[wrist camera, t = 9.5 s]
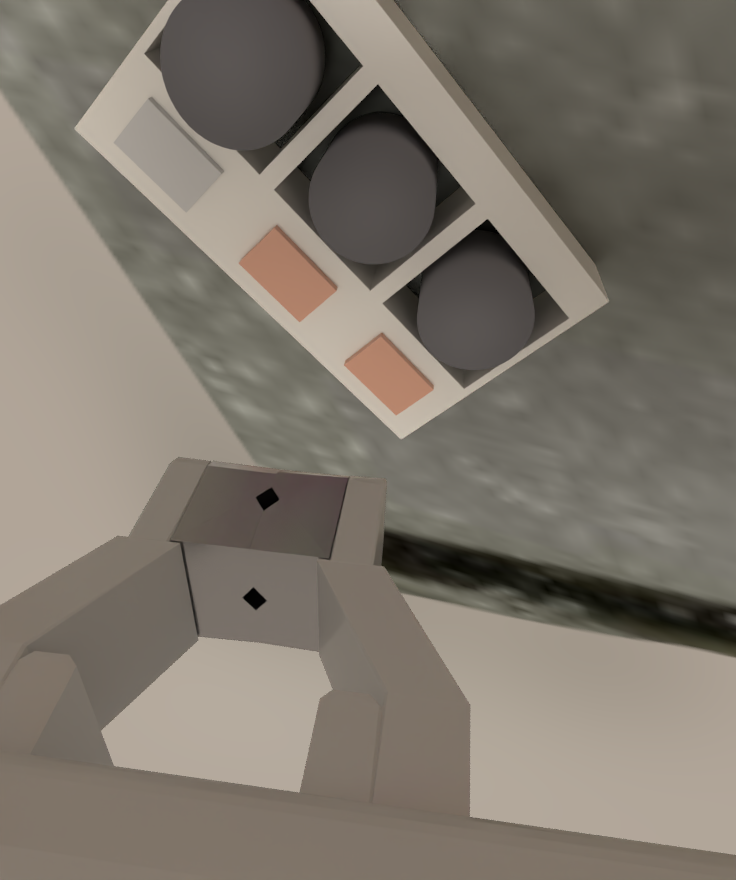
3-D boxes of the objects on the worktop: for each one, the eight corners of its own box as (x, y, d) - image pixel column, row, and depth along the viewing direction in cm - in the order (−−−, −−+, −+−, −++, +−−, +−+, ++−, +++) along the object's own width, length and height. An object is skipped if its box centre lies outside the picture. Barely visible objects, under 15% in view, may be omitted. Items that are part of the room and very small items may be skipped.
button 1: (352, 59, 20) (337, 78, 17) (266, 151, 22) (241, 180, 19) (254, -61, 18) (223, -58, 16) (170, 49, 20) (131, 66, 18)
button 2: (549, 287, 25) (558, 326, 22) (465, 347, 26) (465, 389, 24) (484, 207, 23) (486, 240, 21) (399, 276, 25) (393, 313, 23)
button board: (595, 264, 25) (611, 305, 22) (406, 396, 29) (400, 444, 26) (293, -131, 19) (266, -140, 16) (114, 107, 23) (69, 130, 21)
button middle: (461, 180, 23) (461, 210, 20) (377, 252, 24) (368, 287, 22) (384, 84, 21) (374, 106, 19) (301, 169, 23) (282, 197, 21)
